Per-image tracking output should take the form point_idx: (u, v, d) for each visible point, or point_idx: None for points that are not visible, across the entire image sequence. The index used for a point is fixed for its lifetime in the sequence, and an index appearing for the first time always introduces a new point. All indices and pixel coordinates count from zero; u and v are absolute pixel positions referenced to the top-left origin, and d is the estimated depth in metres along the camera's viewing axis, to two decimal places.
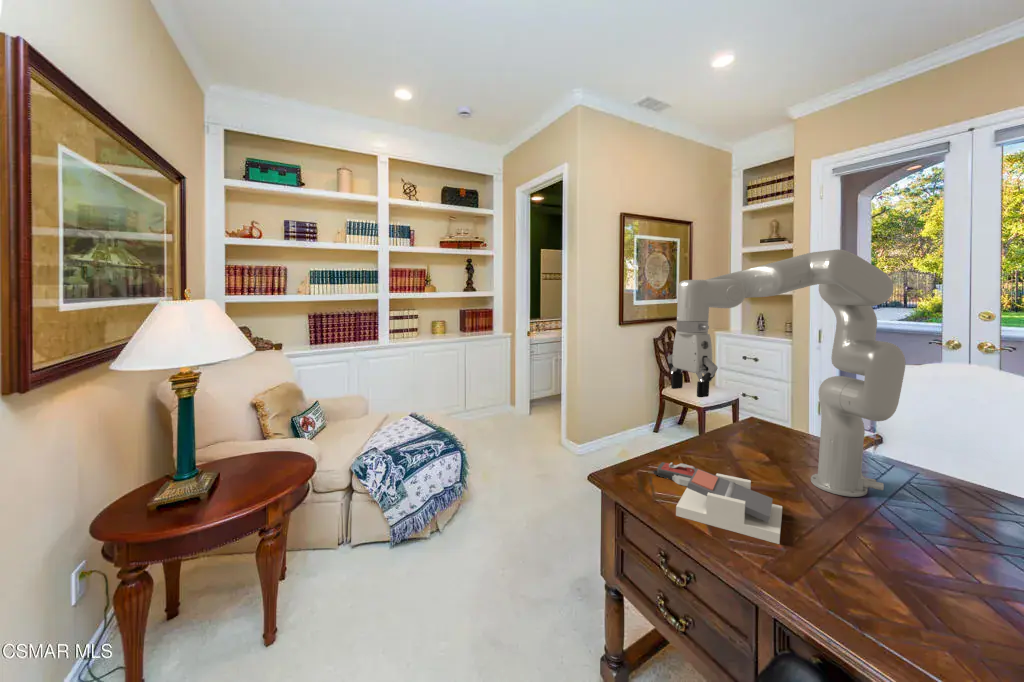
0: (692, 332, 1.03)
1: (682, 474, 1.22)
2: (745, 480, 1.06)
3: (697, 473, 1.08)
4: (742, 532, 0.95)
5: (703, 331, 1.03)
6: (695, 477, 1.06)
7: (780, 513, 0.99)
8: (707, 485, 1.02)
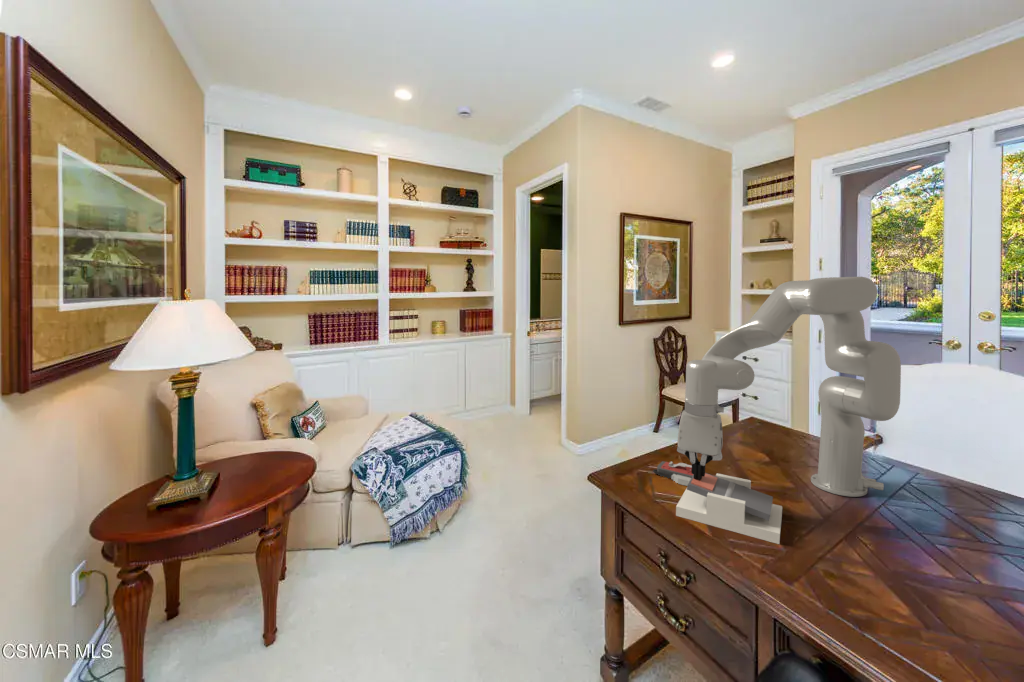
0: (711, 416, 1.01)
1: (681, 473, 1.22)
2: (745, 480, 1.06)
3: None
4: (742, 532, 0.95)
5: None
6: None
7: (780, 513, 0.99)
8: (707, 486, 1.03)
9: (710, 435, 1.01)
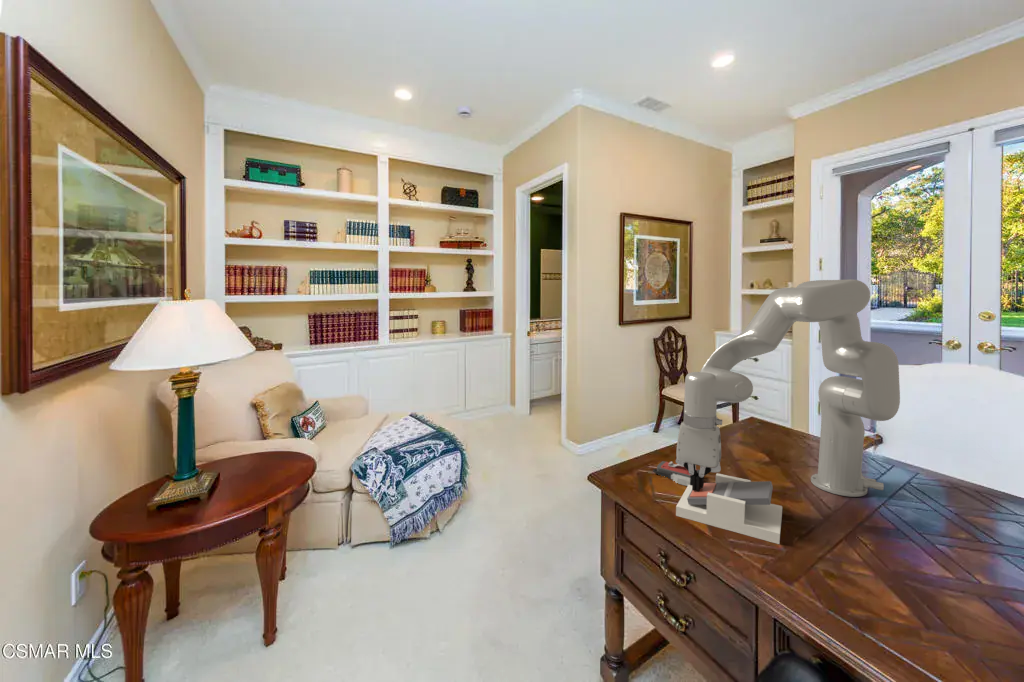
0: (710, 428, 1.01)
1: (681, 473, 1.22)
2: (745, 480, 1.06)
3: None
4: (742, 532, 0.95)
5: None
6: (693, 491, 1.06)
7: (780, 513, 0.99)
8: (705, 494, 1.03)
9: (709, 447, 1.02)
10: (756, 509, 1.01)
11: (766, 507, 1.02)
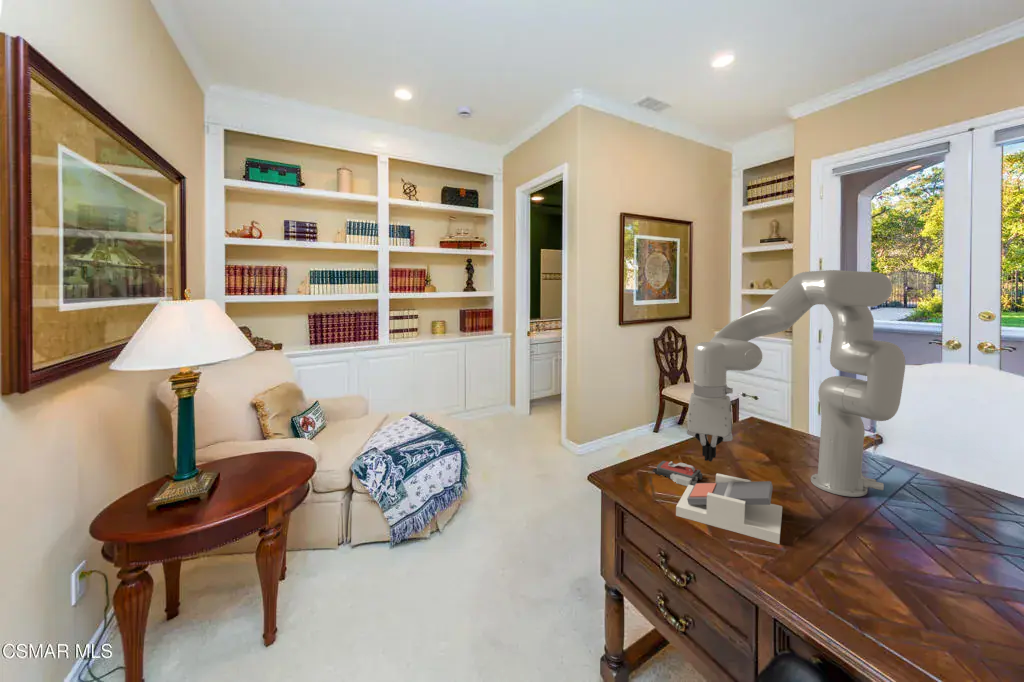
0: (720, 397, 1.01)
1: (680, 473, 1.22)
2: (745, 480, 1.06)
3: (695, 487, 1.09)
4: (742, 532, 0.95)
5: None
6: (693, 491, 1.06)
7: (780, 513, 0.99)
8: (705, 494, 1.03)
9: (720, 416, 1.02)
10: (756, 509, 1.01)
11: (766, 507, 1.02)
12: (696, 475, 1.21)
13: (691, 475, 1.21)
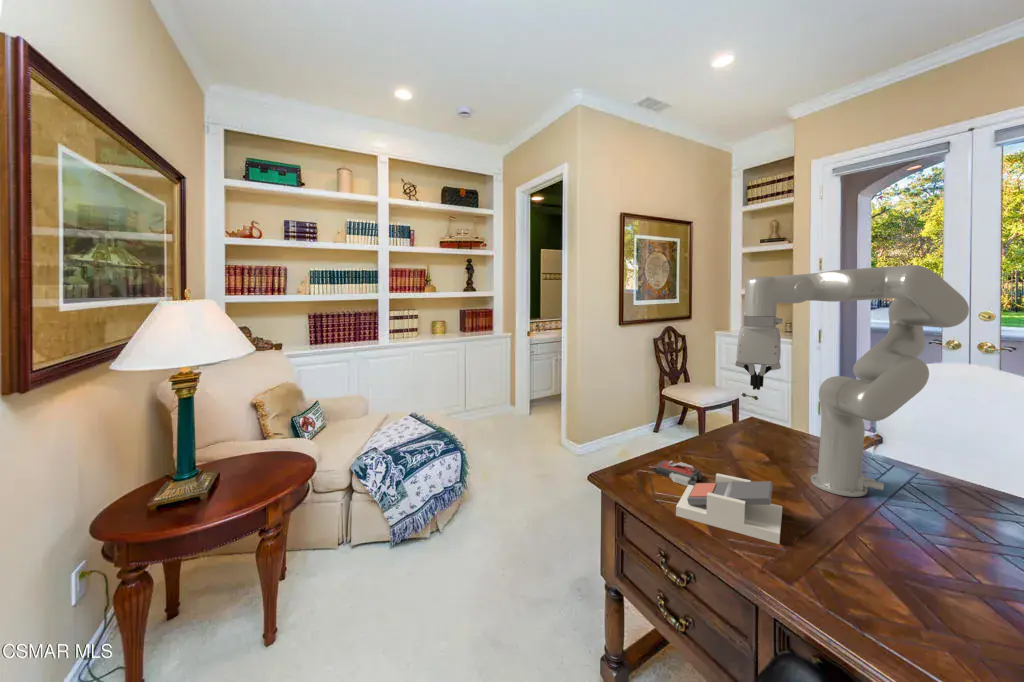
0: (771, 326, 1.08)
1: (679, 472, 1.23)
2: (745, 480, 1.06)
3: (695, 487, 1.09)
4: (742, 532, 0.95)
5: (775, 325, 1.09)
6: (693, 491, 1.06)
7: (780, 513, 0.99)
8: (705, 494, 1.03)
9: (770, 345, 1.08)
10: (756, 509, 1.01)
11: (766, 507, 1.02)
12: (695, 475, 1.22)
13: (690, 475, 1.21)
